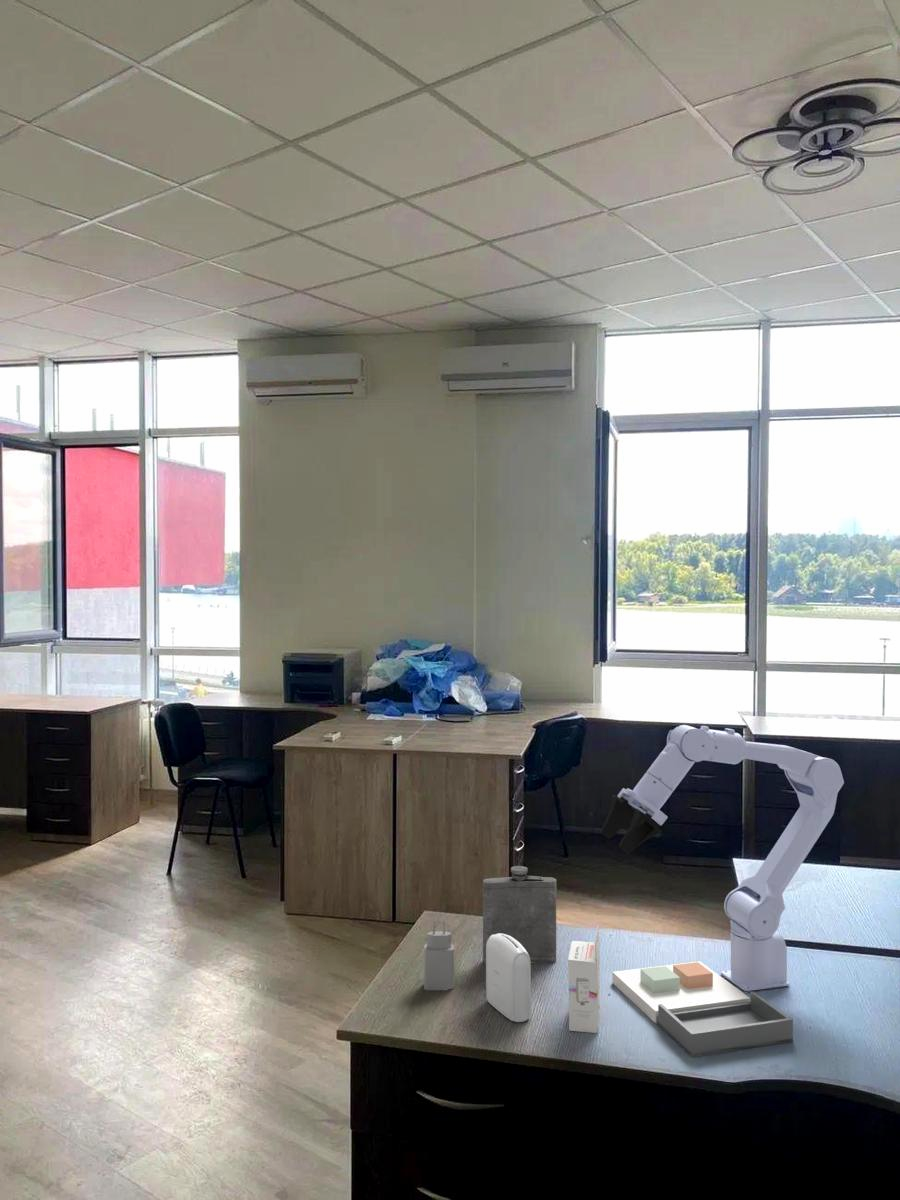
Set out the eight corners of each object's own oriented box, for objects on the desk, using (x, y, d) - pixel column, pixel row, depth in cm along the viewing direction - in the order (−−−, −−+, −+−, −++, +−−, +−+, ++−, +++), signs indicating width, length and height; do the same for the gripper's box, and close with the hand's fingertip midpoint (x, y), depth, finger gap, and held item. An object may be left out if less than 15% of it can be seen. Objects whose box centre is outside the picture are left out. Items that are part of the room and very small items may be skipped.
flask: (481, 957, 173) (481, 865, 173) (553, 955, 174) (554, 864, 174) (483, 965, 169) (483, 871, 169) (557, 963, 170) (557, 870, 170)
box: (751, 1010, 151) (751, 990, 151) (792, 1041, 140) (792, 1019, 140) (656, 1024, 146) (656, 1002, 146) (691, 1057, 135) (691, 1034, 135)
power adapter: (424, 982, 161) (424, 917, 161) (453, 982, 161) (453, 917, 162) (423, 990, 158) (423, 923, 158) (454, 990, 158) (454, 923, 158)
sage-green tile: (665, 978, 159) (665, 965, 159) (679, 989, 154) (679, 977, 154) (640, 981, 157) (640, 969, 157) (654, 993, 153) (654, 980, 153)
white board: (699, 971, 166) (699, 961, 166) (750, 1009, 151) (750, 998, 151) (612, 982, 161) (612, 971, 161) (655, 1023, 146) (655, 1011, 146)
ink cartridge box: (570, 1007, 152) (570, 922, 152) (600, 1010, 151) (600, 924, 151) (567, 1031, 143) (567, 940, 143) (598, 1034, 142) (598, 943, 142)
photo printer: (482, 1000, 154) (482, 929, 154) (504, 995, 156) (504, 925, 156) (512, 1025, 145) (512, 950, 145) (534, 1020, 147) (534, 946, 147)
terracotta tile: (697, 974, 161) (697, 962, 161) (712, 985, 156) (712, 973, 156) (672, 977, 159) (673, 965, 159) (687, 989, 154) (687, 976, 154)
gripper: (626, 759, 165) (582, 817, 164) (663, 779, 151) (615, 843, 150) (651, 781, 167) (608, 839, 166) (691, 803, 153) (644, 866, 152)
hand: (613, 842), depth 158 cm, fingers open, 7 cm apart
